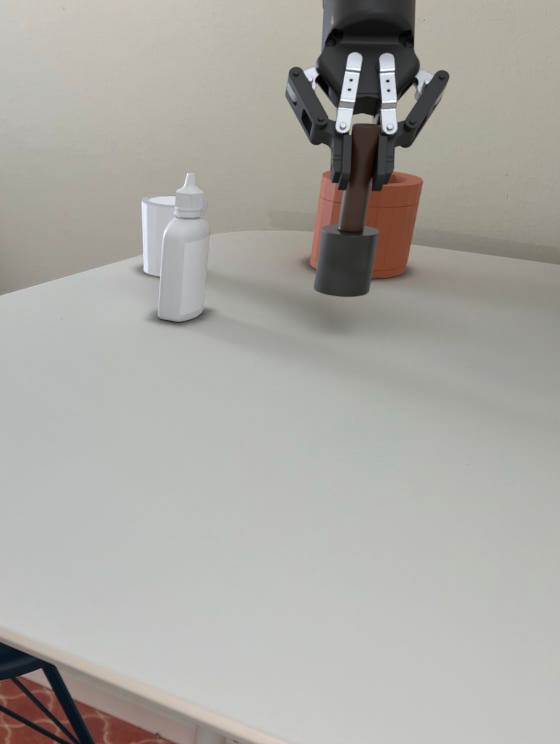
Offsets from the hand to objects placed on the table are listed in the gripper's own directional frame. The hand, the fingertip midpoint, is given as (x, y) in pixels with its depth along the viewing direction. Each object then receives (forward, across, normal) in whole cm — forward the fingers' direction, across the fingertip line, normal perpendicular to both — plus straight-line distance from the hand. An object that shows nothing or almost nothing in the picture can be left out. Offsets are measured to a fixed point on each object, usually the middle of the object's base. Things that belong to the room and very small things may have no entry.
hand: (361, 184), depth 81 cm
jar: (-9, +4, +27) cm, 29 cm away
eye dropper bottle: (+6, -14, +12) cm, 19 cm away
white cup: (-5, -16, +23) cm, 28 cm away
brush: (+5, 0, +8) cm, 9 cm away
